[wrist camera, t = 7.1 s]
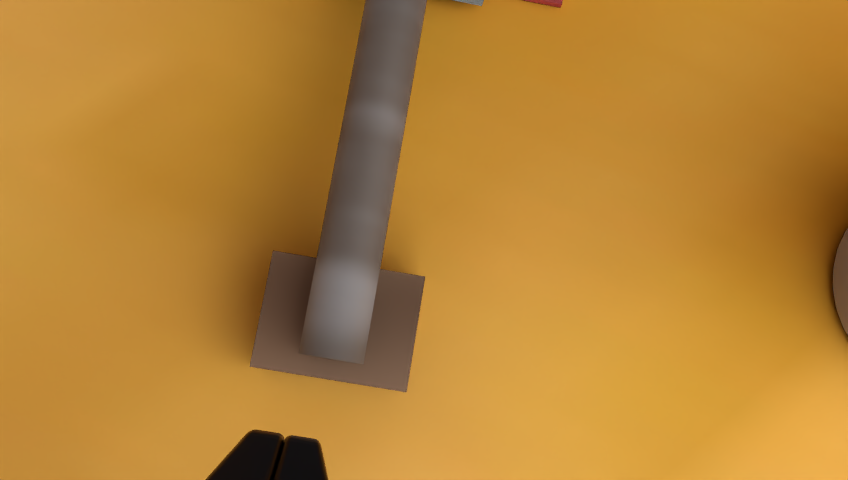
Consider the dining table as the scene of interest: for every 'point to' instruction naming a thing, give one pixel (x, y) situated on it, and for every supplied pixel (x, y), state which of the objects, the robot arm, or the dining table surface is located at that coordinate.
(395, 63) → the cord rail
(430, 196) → the dining table surface
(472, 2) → the sleeve
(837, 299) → the travel mug
